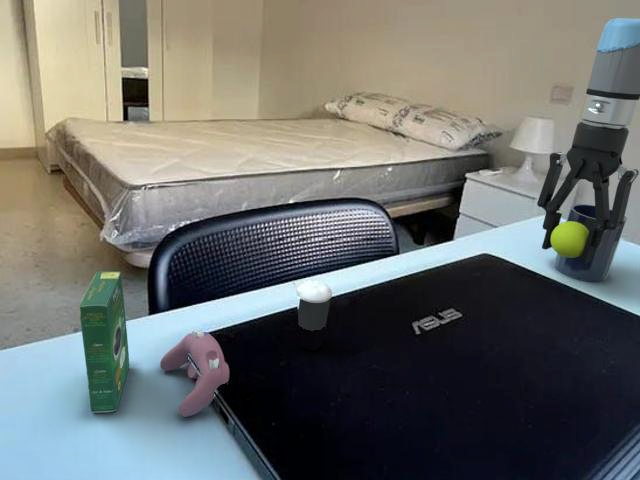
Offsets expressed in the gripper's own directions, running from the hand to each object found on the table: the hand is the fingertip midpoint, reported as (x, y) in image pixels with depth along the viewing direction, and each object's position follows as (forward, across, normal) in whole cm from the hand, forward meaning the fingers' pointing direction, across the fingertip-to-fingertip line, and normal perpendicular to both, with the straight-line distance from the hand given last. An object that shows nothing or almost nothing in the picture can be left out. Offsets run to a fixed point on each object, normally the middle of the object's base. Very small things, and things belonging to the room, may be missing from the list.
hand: (565, 254), depth 89 cm
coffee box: (+5, -15, -74) cm, 76 cm away
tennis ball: (-3, 0, 0) cm, 3 cm away
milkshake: (+5, -10, -51) cm, 52 cm away
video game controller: (+5, -10, -67) cm, 68 cm away
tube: (+6, 0, +9) cm, 11 cm away
